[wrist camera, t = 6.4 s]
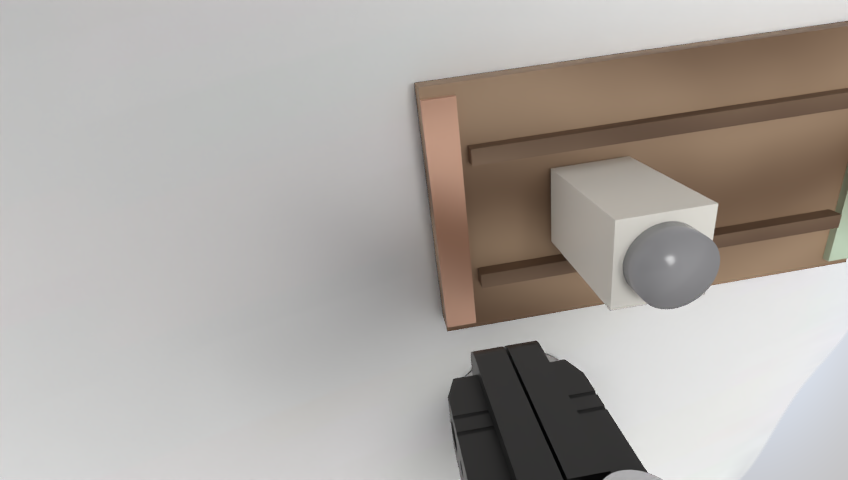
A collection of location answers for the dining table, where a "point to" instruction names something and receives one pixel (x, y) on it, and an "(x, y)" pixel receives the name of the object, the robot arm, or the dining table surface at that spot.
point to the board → (645, 142)
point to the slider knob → (634, 233)
